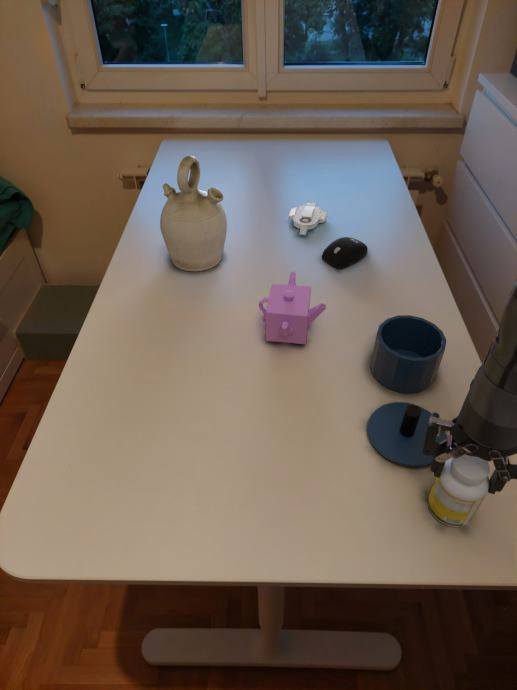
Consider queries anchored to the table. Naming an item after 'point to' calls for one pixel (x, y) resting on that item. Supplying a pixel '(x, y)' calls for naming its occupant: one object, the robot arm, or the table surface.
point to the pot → (407, 353)
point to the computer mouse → (344, 252)
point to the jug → (193, 221)
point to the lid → (401, 433)
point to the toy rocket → (307, 217)
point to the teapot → (289, 312)
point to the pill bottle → (459, 490)
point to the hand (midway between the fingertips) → (463, 479)
